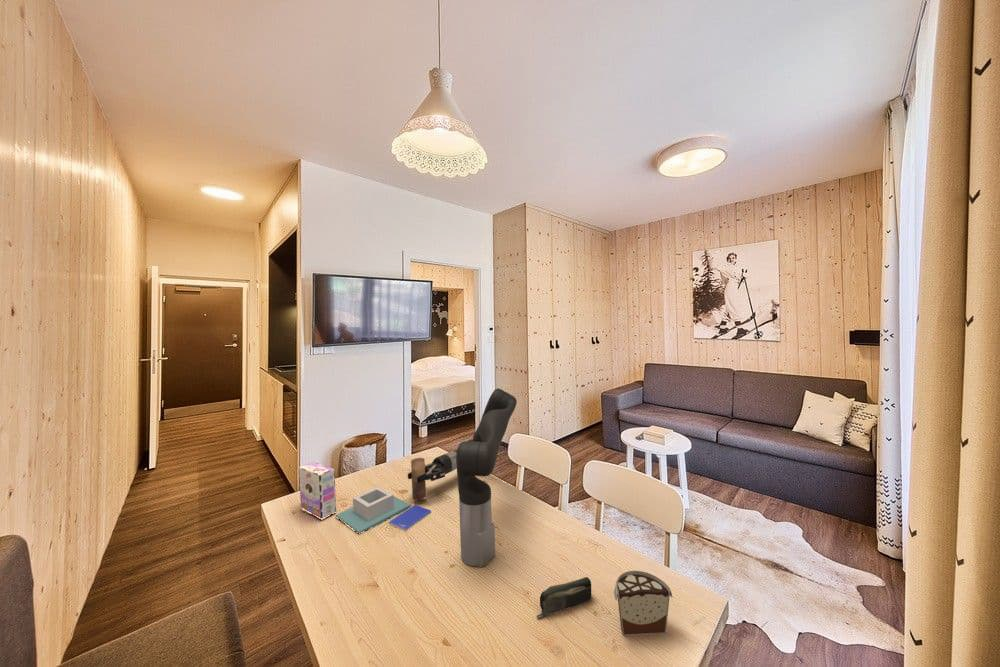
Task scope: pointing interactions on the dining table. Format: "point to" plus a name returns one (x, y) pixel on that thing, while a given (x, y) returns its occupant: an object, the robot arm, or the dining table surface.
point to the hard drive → (409, 517)
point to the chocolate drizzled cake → (642, 603)
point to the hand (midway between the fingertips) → (412, 478)
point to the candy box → (317, 489)
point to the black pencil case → (565, 596)
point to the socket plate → (372, 509)
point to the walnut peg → (416, 471)
